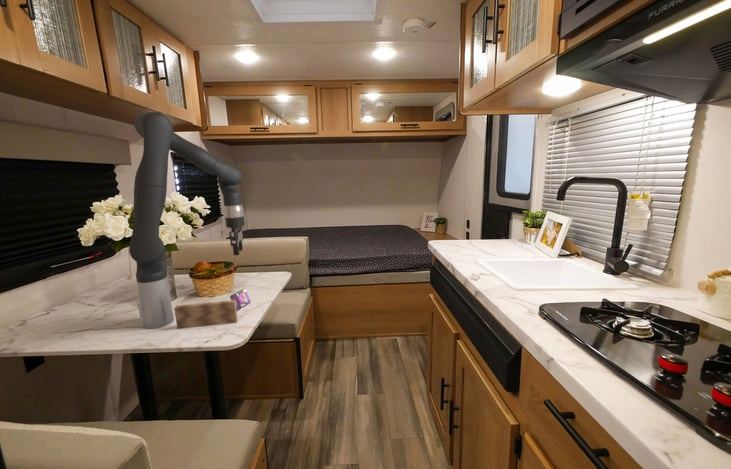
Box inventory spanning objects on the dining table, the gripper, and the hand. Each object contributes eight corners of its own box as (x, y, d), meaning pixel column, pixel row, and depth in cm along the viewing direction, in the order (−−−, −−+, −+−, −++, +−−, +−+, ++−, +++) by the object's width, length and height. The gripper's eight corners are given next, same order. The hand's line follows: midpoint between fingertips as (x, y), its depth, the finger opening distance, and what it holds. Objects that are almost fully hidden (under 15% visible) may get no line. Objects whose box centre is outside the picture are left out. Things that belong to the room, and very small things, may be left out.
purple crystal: (231, 295, 124) (246, 287, 132) (221, 298, 125) (236, 290, 134) (238, 311, 124) (252, 302, 133) (228, 313, 126) (242, 304, 134)
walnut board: (177, 329, 111) (174, 308, 110) (179, 326, 113) (176, 305, 112) (236, 322, 115) (234, 302, 113) (237, 320, 117) (235, 300, 115)
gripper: (228, 214, 140) (232, 249, 143) (220, 218, 126) (225, 257, 129) (246, 213, 141) (250, 248, 144) (240, 217, 127) (244, 256, 130)
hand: (238, 252), depth 137 cm, fingers open, 7 cm apart
